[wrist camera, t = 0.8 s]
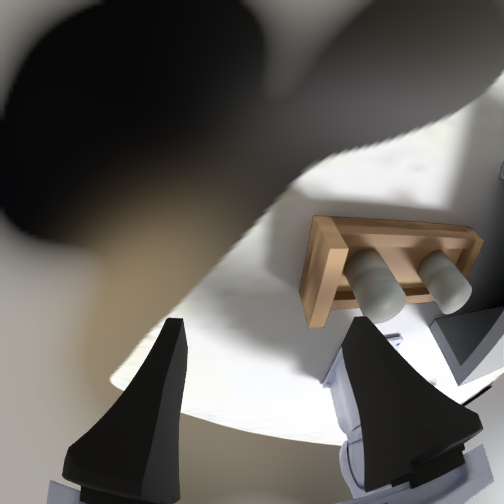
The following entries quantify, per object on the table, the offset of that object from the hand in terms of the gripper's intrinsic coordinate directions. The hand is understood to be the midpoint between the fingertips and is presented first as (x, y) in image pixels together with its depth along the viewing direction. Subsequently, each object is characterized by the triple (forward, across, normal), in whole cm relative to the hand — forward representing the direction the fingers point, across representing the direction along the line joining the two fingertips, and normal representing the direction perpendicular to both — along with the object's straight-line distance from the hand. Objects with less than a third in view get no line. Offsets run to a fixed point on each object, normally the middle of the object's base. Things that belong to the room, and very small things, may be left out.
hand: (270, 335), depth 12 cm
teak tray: (+10, -12, +3) cm, 16 cm away
